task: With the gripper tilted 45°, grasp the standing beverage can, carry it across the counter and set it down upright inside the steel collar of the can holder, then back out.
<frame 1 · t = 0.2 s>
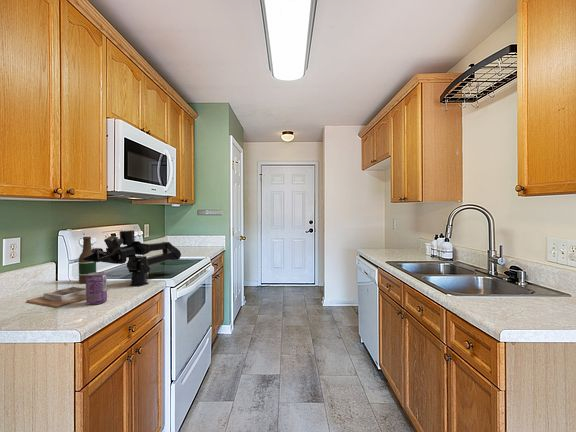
hand: (90, 259, 129), 17 cm above the worktop, tool horizontal, fingers open, 9 cm apart
can holder: (67, 298, 130), on the worktop
beverage can: (96, 303, 123), on the worktop
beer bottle: (87, 282, 159), on the worktop
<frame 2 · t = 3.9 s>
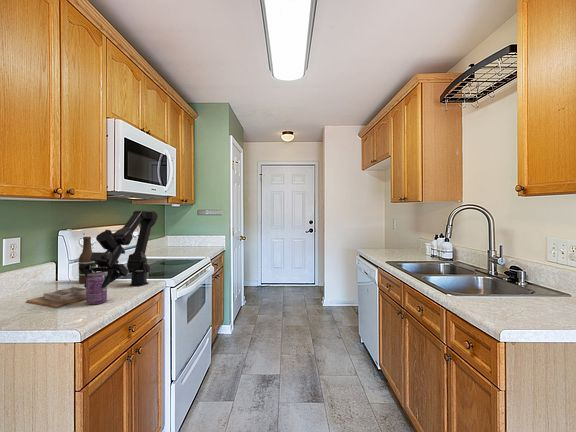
hand: (93, 287, 121), 7 cm above the worktop, tool tilted 45°, fingers closed on beverage can, 7 cm apart
beverage can: (96, 303, 123), on the worktop, touching gripper
everything else where it was.
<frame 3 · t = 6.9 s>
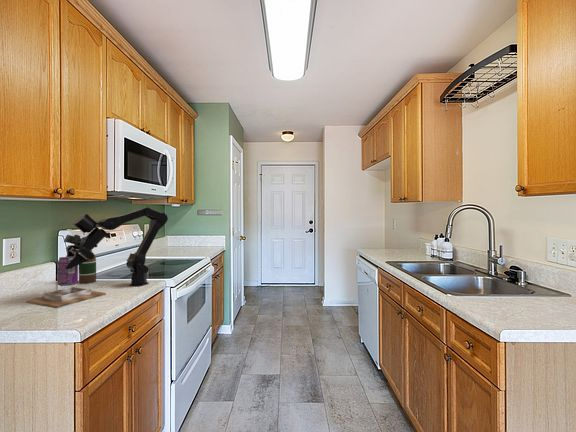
hand: (63, 267, 128), 13 cm above the worktop, tool tilted 45°, fingers closed on beverage can, 7 cm apart
beverage can: (67, 285, 128), point 6 cm above the worktop, touching gripper
everything else where it was.
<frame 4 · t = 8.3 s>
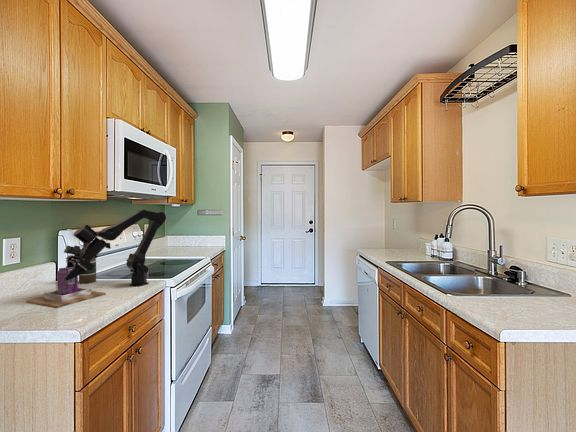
hand: (63, 278, 128), 9 cm above the worktop, tool tilted 45°, fingers closed on beverage can, 7 cm apart
beverage can: (68, 296, 129), point 1 cm above the worktop, touching can holder, gripper
everything else where it was.
when the fingers open (9 cm above the worktop, at t = 9.0 s): beverage can stays where it is, resting on can holder.
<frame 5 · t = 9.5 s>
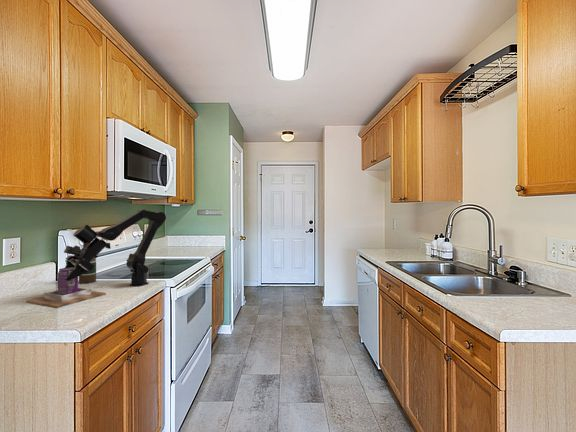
hand: (63, 278, 128), 9 cm above the worktop, tool tilted 45°, fingers open, 9 cm apart
beverage can: (68, 297, 129), point 1 cm above the worktop, touching can holder, gripper
everything else where it was.
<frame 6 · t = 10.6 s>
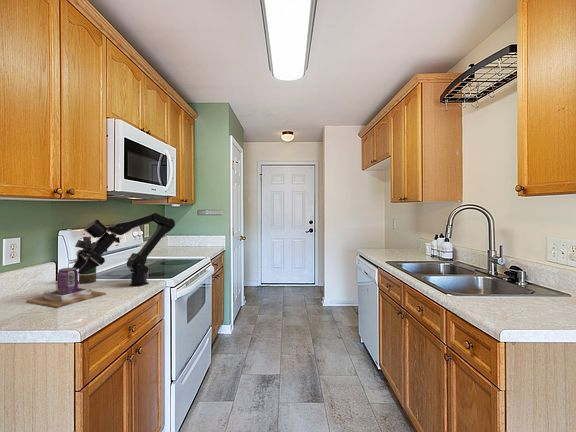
hand: (75, 272, 132), 11 cm above the worktop, tool tilted 45°, fingers open, 9 cm apart
beverage can: (68, 297, 129), point 1 cm above the worktop, touching can holder
everything else where it was.
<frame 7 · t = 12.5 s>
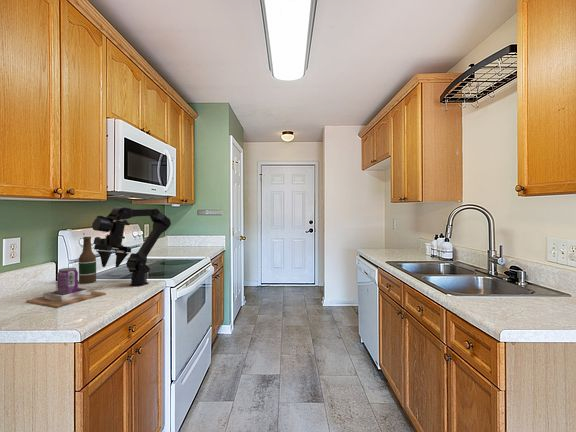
hand: (110, 267, 140), 11 cm above the worktop, tool pointing down, fingers open, 9 cm apart
nothing on the worktop moved.
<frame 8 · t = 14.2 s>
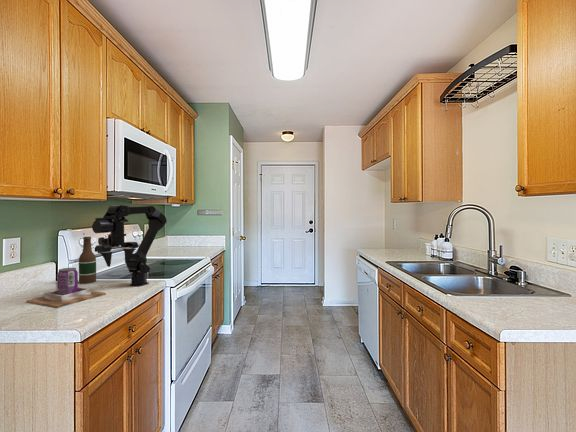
hand: (117, 265, 142), 12 cm above the worktop, tool pointing down, fingers open, 9 cm apart
nothing on the worktop moved.
at the end: beverage can 1.4 cm off-centre on the can holder, point 0.6 cm above the can holder's base; beverage can tilted 0°; the gripper is holding nothing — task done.
